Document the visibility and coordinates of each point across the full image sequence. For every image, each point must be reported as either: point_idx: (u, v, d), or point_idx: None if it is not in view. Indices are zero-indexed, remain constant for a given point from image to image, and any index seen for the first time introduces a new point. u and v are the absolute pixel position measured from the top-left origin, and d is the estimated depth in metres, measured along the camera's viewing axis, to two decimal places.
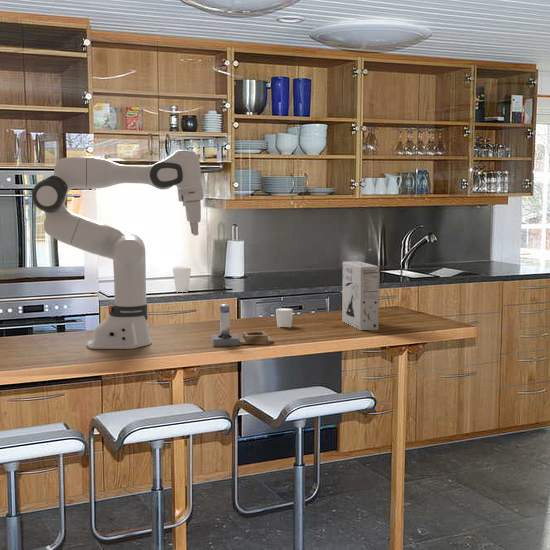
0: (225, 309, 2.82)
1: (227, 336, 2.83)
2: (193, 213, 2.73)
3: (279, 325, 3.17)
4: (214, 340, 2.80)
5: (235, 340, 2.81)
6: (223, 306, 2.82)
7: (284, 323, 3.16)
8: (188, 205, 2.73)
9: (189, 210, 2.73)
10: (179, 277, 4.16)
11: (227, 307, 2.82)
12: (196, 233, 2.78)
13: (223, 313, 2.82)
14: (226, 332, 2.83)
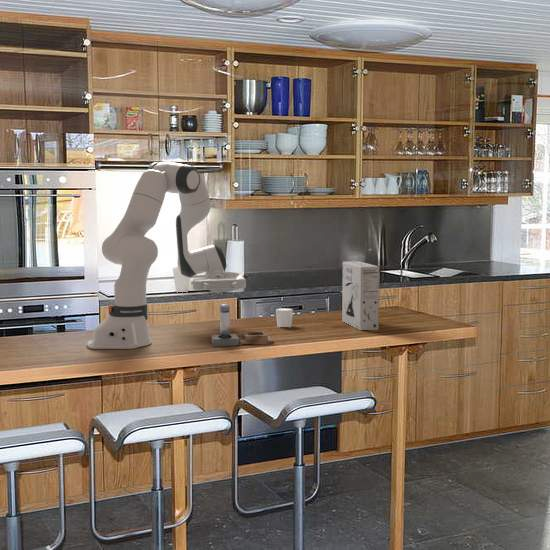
0: (225, 309, 2.82)
1: (227, 336, 2.83)
2: None
3: (279, 325, 3.17)
4: (214, 340, 2.80)
5: (235, 340, 2.81)
6: (223, 306, 2.82)
7: (284, 323, 3.16)
8: None
9: None
10: (179, 277, 4.16)
11: (227, 307, 2.82)
12: (235, 286, 2.98)
13: (223, 313, 2.82)
14: (226, 332, 2.83)
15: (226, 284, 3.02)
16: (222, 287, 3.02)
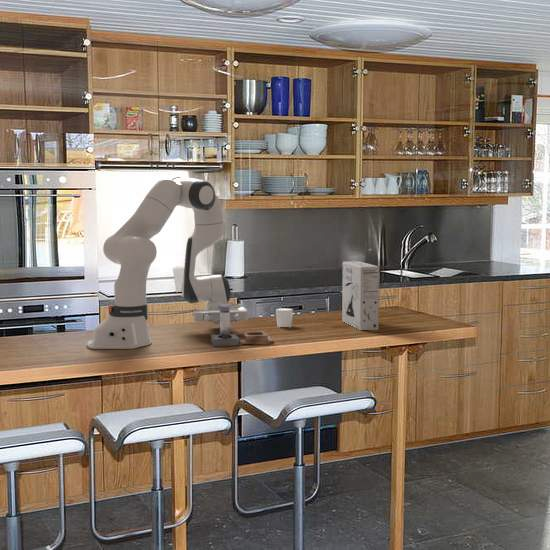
0: (225, 309, 2.82)
1: (227, 336, 2.83)
2: None
3: (279, 325, 3.17)
4: (214, 340, 2.80)
5: (235, 340, 2.81)
6: (223, 306, 2.82)
7: (284, 323, 3.16)
8: None
9: None
10: (179, 277, 4.16)
11: (227, 307, 2.82)
12: None
13: (223, 313, 2.82)
14: (226, 332, 2.83)
15: None
16: None
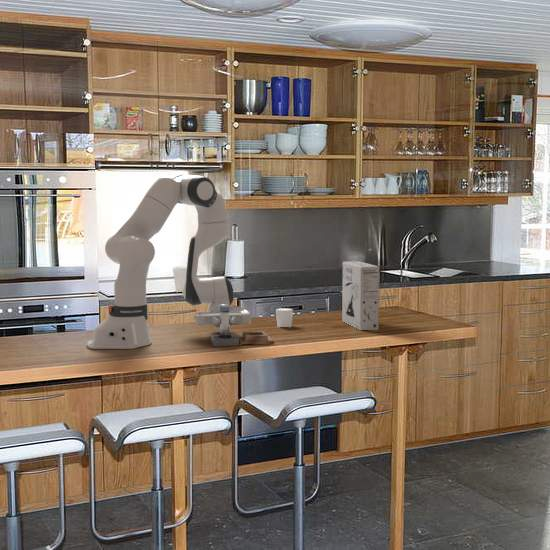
0: (225, 309, 2.82)
1: (227, 336, 2.83)
2: None
3: (279, 325, 3.17)
4: (214, 340, 2.80)
5: (235, 340, 2.81)
6: (223, 306, 2.82)
7: (284, 323, 3.16)
8: None
9: None
10: (179, 277, 4.16)
11: (227, 307, 2.82)
12: (233, 321, 2.84)
13: (223, 313, 2.82)
14: (226, 332, 2.83)
15: None
16: None
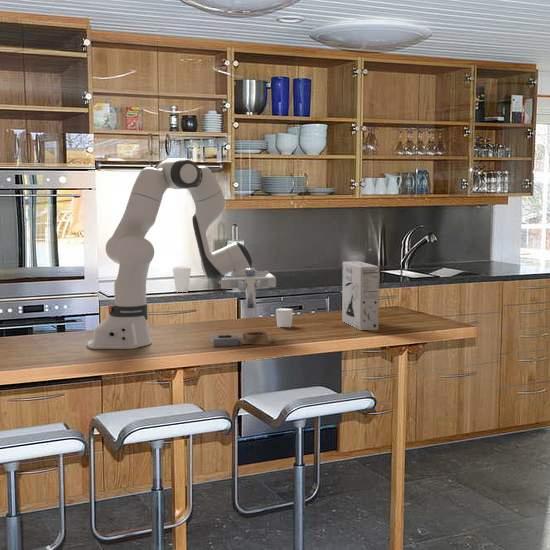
0: (251, 272, 2.83)
1: (253, 300, 2.84)
2: None
3: (279, 325, 3.17)
4: (214, 340, 2.80)
5: (235, 340, 2.81)
6: (249, 270, 2.83)
7: (284, 323, 3.16)
8: None
9: None
10: (179, 277, 4.16)
11: (253, 271, 2.83)
12: (259, 284, 2.85)
13: (249, 277, 2.83)
14: (252, 296, 2.84)
15: None
16: None
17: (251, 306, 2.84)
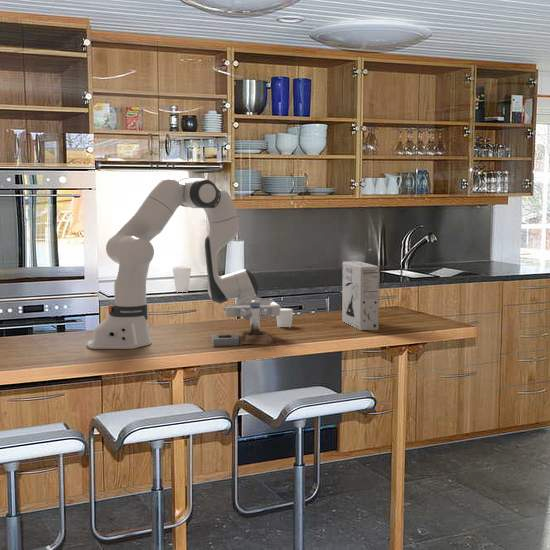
0: (256, 305, 2.84)
1: (257, 332, 2.86)
2: None
3: (279, 325, 3.17)
4: (214, 340, 2.80)
5: (235, 340, 2.81)
6: (254, 302, 2.84)
7: (284, 323, 3.16)
8: None
9: None
10: (179, 277, 4.16)
11: (258, 303, 2.85)
12: (265, 313, 2.87)
13: (254, 309, 2.85)
14: (256, 328, 2.85)
15: (260, 311, 2.91)
16: None
17: None
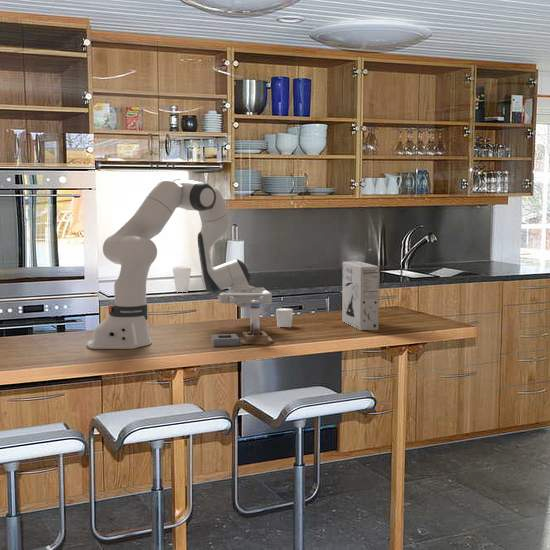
0: (255, 305, 2.84)
1: (257, 332, 2.86)
2: None
3: (279, 325, 3.17)
4: (214, 340, 2.80)
5: (235, 340, 2.81)
6: (253, 302, 2.84)
7: (284, 323, 3.16)
8: None
9: None
10: (179, 277, 4.16)
11: (257, 303, 2.85)
12: (261, 300, 3.00)
13: (253, 309, 2.85)
14: (256, 328, 2.85)
15: (253, 298, 3.04)
16: (248, 301, 3.03)
17: None
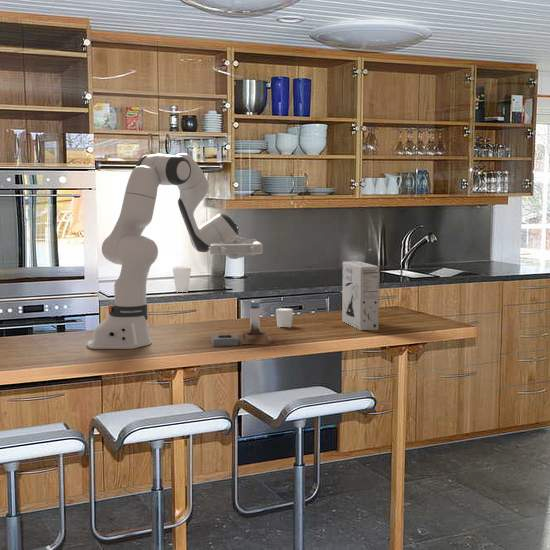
0: (255, 305, 2.84)
1: (257, 332, 2.86)
2: None
3: (279, 325, 3.17)
4: (214, 340, 2.80)
5: (235, 340, 2.81)
6: (253, 302, 2.84)
7: (284, 323, 3.16)
8: None
9: None
10: (179, 277, 4.16)
11: (257, 303, 2.85)
12: (252, 250, 3.00)
13: (253, 309, 2.85)
14: (256, 328, 2.85)
15: (244, 249, 3.04)
16: (239, 252, 3.03)
17: None
